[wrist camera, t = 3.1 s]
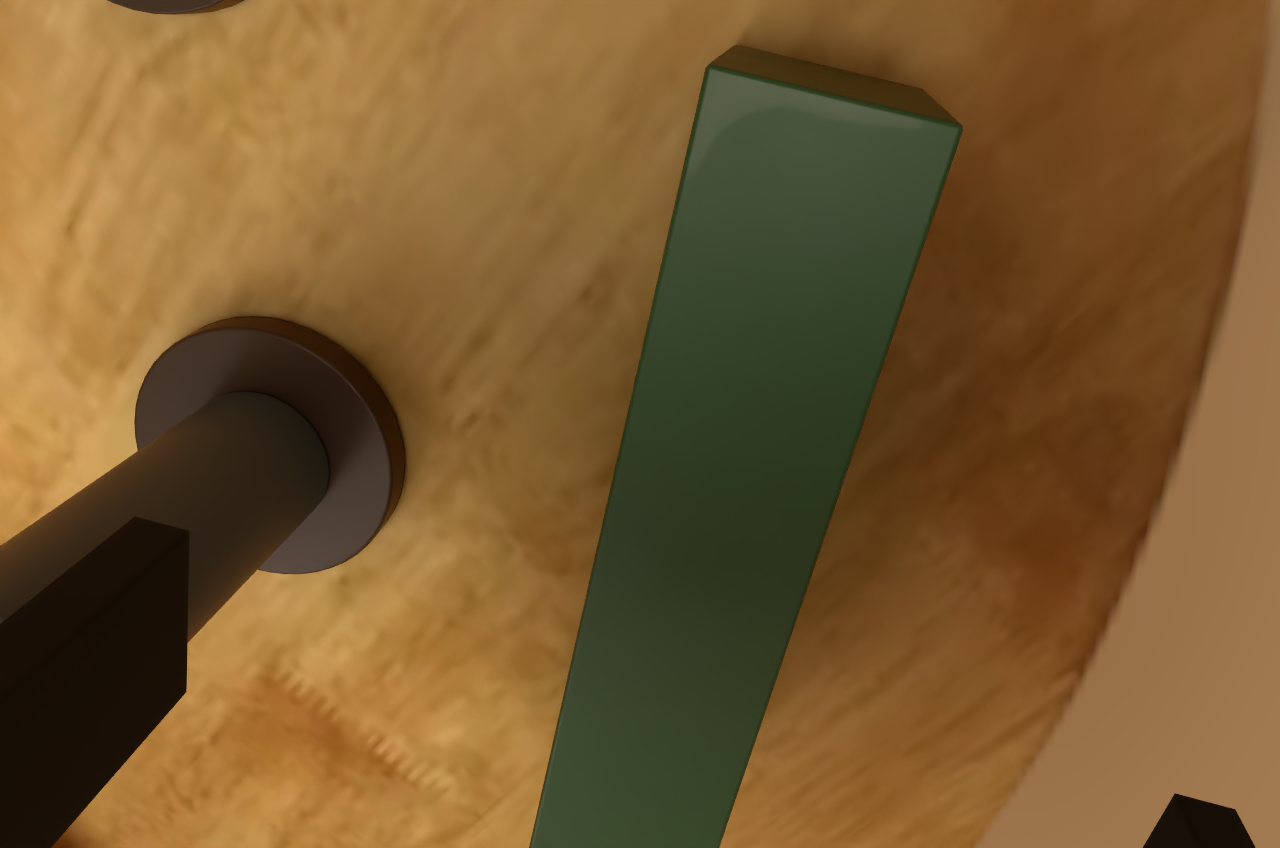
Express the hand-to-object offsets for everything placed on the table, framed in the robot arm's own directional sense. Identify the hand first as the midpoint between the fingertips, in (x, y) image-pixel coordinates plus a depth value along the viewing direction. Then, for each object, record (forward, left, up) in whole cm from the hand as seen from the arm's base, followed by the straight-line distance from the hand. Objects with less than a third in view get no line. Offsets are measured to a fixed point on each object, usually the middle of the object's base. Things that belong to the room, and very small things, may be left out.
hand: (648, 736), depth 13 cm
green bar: (0, 0, -9) cm, 9 cm away
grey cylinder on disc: (+10, 0, -9) cm, 13 cm away
